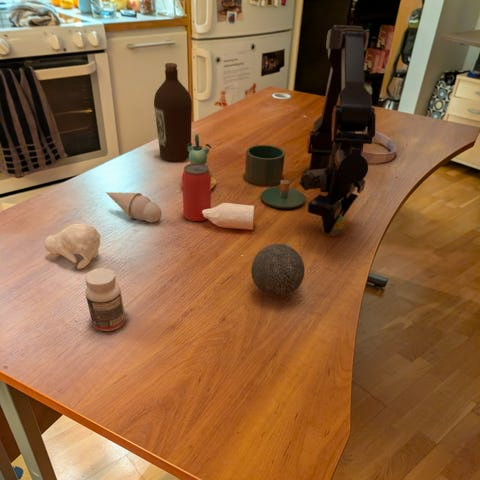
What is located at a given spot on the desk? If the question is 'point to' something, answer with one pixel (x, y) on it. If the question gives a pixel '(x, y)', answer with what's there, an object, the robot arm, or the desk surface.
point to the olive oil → (173, 117)
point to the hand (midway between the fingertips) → (331, 228)
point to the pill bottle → (104, 299)
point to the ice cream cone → (137, 206)
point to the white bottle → (231, 215)
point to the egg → (335, 227)
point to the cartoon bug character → (199, 155)
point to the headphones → (381, 156)
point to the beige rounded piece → (75, 243)
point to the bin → (264, 165)
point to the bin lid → (283, 196)
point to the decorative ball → (277, 270)
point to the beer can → (196, 191)
